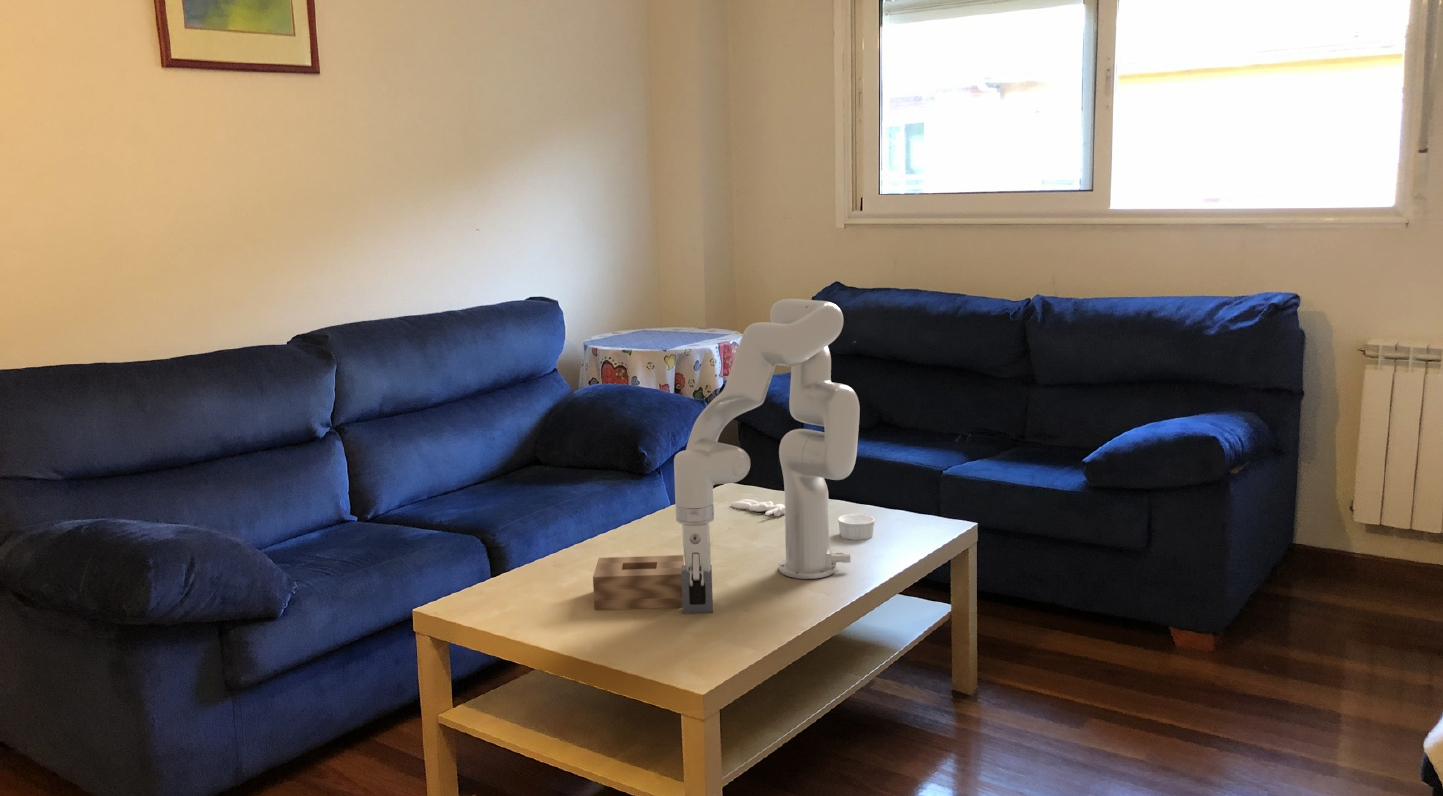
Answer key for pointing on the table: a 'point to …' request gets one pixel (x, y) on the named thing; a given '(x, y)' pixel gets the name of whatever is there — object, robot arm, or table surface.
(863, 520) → the ramekin
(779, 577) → the table surface
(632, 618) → the table surface
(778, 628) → the table surface
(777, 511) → the decorative figure
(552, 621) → the table surface
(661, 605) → the tan slotted block
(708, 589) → the grey rectangular block
